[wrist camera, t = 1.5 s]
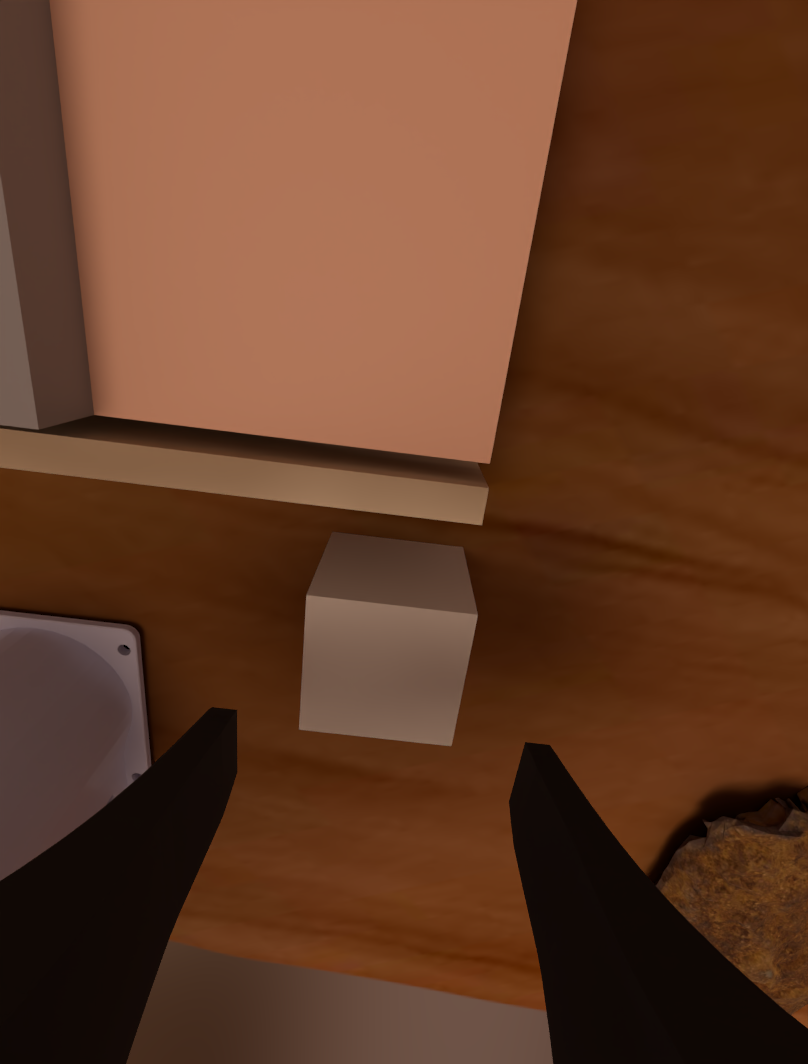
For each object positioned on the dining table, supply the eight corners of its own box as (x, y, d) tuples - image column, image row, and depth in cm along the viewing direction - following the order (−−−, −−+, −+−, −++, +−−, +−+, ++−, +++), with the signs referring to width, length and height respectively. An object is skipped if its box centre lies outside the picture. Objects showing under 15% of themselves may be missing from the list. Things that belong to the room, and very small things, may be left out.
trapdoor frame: (462, 470, 18) (481, 524, 13) (24, 415, 18) (-135, 451, 13) (543, -10, 13) (624, -223, 8) (-58, -99, 13) (-370, -382, 8)
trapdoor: (484, 454, 14) (502, 486, 11) (-36, 390, 13) (-153, 406, 11) (574, -36, 10) (635, -174, 7) (-141, -142, 10) (-364, -332, 7)
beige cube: (443, 655, 21) (451, 746, 17) (324, 641, 21) (299, 729, 16) (463, 546, 19) (478, 614, 15) (332, 530, 19) (306, 595, 15)
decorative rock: (781, 971, 30) (902, 776, 25) (840, 1064, 26) (999, 857, 21) (595, 963, 29) (681, 758, 24) (628, 1059, 25) (740, 840, 20)
